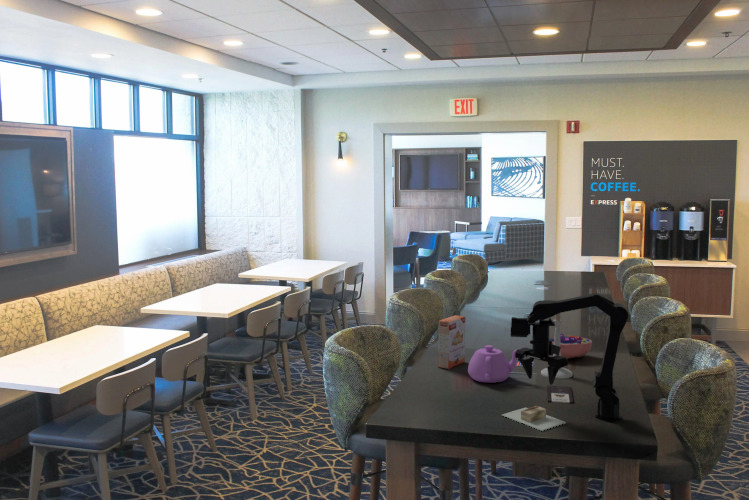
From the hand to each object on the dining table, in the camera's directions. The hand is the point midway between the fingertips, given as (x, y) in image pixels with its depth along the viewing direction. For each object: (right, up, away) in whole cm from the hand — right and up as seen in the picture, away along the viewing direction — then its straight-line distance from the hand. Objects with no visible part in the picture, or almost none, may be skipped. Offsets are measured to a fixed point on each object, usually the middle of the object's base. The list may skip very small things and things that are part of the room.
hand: (540, 381), depth 240 cm
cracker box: (-24, -5, +62) cm, 67 cm away
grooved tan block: (-4, -12, -5) cm, 13 cm away
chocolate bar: (+12, -10, +21) cm, 26 cm away
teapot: (-9, -7, +41) cm, 43 cm away
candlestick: (+18, -6, +47) cm, 50 cm away
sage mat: (-4, -12, -5) cm, 13 cm away
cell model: (+30, -3, +71) cm, 77 cm away
